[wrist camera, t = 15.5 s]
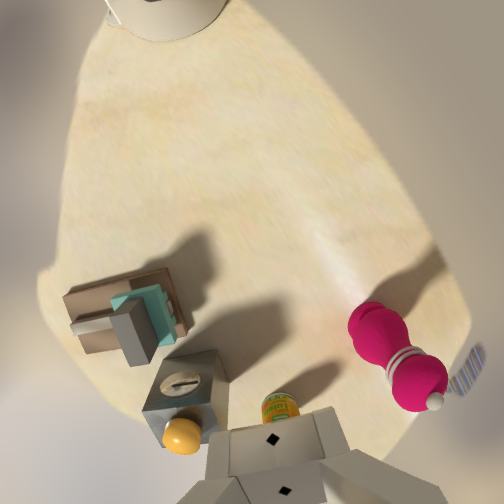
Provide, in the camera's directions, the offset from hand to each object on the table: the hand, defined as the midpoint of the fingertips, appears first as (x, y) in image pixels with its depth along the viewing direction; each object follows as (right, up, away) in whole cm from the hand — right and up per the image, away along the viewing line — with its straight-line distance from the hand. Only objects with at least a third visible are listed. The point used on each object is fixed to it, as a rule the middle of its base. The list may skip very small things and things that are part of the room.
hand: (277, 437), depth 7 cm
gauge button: (-8, -15, +24) cm, 29 cm away
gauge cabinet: (-8, -12, +36) cm, 39 cm away
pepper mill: (+16, -5, +36) cm, 39 cm away
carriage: (-14, -3, +32) cm, 35 cm away
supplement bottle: (+3, -18, +38) cm, 42 cm away
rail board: (-18, -4, +34) cm, 39 cm away
